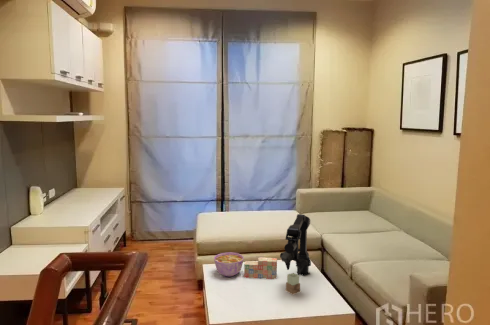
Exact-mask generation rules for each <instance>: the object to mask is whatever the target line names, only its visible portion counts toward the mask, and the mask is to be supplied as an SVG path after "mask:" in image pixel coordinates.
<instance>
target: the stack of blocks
mask: <svg viewBox="0 0 490 325" xmlns="http://www.w3.org/2000/svg"><path fill="white" fill-rule="evenodd" d="M257 259H258V261H254V260H252V261H249V260H245V262H244V265H243V266H244V267H243V270H244V273H243V274H244V275H243V277H244V278H246V279H248V278H249V279H261V278H266V279H265V280H275V279H277V278H276V277H277V276H278V274H277V272H278V270H277V269H278V258H277V257H276V258H275V257H258V258H257Z"/></svg>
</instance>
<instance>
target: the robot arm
mask: <svg viewBox="0 0 490 325" xmlns="http://www.w3.org/2000/svg"><path fill="white" fill-rule="evenodd" d="M310 226H311V219H310V217H309V216H306V215H305V214H303V213H302V214H301V213H299V214H297V215H296V218H295V219H294V222H293V224H290V225H289V226H288V228H287V229H286V233H285V234H286V235H285V240H287V243H286V244H285V245H284V248H283V250H284V251H283V252H280V253H279V258H281V261H282V262H283V263H284V264H285V267H286V270H287V271H289V270H290V268H291V261H294V262H295V267H296V268H297V269H296V273H297V275H299V276H300V275H301V276H307V275H310V274H311V272H310V271H309V267H311V266H312V261H311V258H310V254H309V252H308V250H307V249H308V248H307V246H308V242H307V240H308V238H307V237H308V229H309V227H310Z"/></svg>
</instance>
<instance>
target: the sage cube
mask: <svg viewBox="0 0 490 325" xmlns="http://www.w3.org/2000/svg"><path fill="white" fill-rule="evenodd" d="M286 276H287V277H286V278H287V279H286V282H287V283H289V284H291V285H296V284H299V283H300V274H299V275H298V274H296V273H295V272H292V273H288V274H287V275H286Z"/></svg>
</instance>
